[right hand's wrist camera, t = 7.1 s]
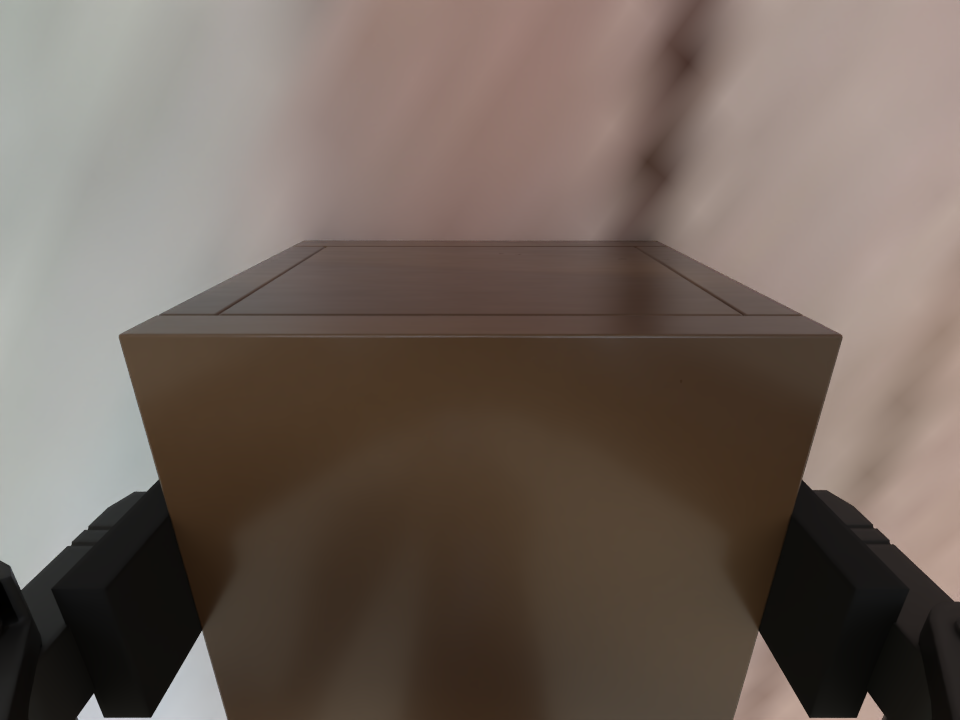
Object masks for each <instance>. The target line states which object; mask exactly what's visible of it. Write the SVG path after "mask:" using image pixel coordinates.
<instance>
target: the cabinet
mask: <svg viewBox="0 0 960 720" xmlns="http://www.w3.org/2000/svg"><path fill="white" fill-rule="evenodd" d="M119 340H120V343H121V347H122V350H123V354H124V357H125V361H126V364H127V368H128V371H129V375H130V378H131V382H132V385H133V389H134V392H135V396H136V399H137V403H138V407H139V410H140V414H141V417H142V421H143V424H144V428H145V431H146V435H147V438H148V442H149V445H150V449H151V452H152V456H153V459H154V463H155V466H156V470H157V473H158V477H159V480H160V484H161V487H162V491H163V494H164V498H165V502H166V505H167V509H168V512H169V516H170V519H171V523H172V526H173V530H174V533H175V537H176V540H177V544H178V547H179V551H180V554H181V558H182V561H183V565H184V568H185V572H186V575H187V579H188V582H189V586H190V589H191V593H192V597H193V600H194V604H195V607H196V611H197V614H198V618H199V621H200V625H201V628H202V632H203V635H204V639H205V642H206V646H207V649H208V653H209V656H210V660H211V663H212V667H213V670H214V674H215V677H216V681H217V684H218V688H219V692H220V695H221V699H222V702H223V706H224V709H225V713H226V716H227V720H733V718H734V715H735V711H736V708H737V704H738V701H739V698H740V694H741V691H742V687H743V684H744V680H745V677H746V673H747V670H748V666H749V663H750V659H751V656H752V652H753V649H754V645H755V642H756V638H757V635H758V631H759V627H760V624H761V620H762V617H763V613H764V610H765V606H766V603H767V599H768V596H769V592H770V589H771V585H772V582H773V578H774V575H775V571H776V568H777V564H778V561H779V557H780V554H781V550H782V547H783V543H784V540H785V536H786V533H787V529H788V526H789V522H790V519H791V515H792V512H793V509H794V505H795V502H796V498H797V495H798V491H799V488H800V484H801V481H802V477H803V474H804V470H805V467H806V463H807V460H808V457H809V453H810V450H811V446H812V443H813V439H814V436H815V432H816V429H817V425H818V422H819V418H820V415H821V411H822V408H823V404H824V401H825V397H826V394H827V390H828V387H829V383H830V380H831V376H832V373H833V369H834V366H835V362H836V359H837V355H838V352H839V348H840V345H841V341H842V335H841V334H839V333H837V332H835V331H833V330H831V329H829V328H827V327H825V326H823V325H821V324H820V323H818V322H816V321H814V320H812V319H810V318H808V317H806V316H803V315H802V314H800V313H798V312H796V311H794V310H792V309H790V308H788V307H786V306H784V305H782V304H780V303H778V302H776V301H774V300H772V299H770V298H768V297H766V296H765V295H763V294H761V293H759V292H757V291H755V290H753V289H751V288H749V287H747V286H745V285H743V284H741V283H739V282H737V281H735V280H733V279H731V278H729V277H727V276H725V275H723V274H721V273H719V272H717V271H715V270H714V269H712V268H710V267H708V266H706V265H704V264H702V263H700V262H698V261H696V260H694V259H692V258H690V257H688V256H686V255H684V254H682V253H680V252H678V251H676V250H674V249H672V248H670V247H668V246H666V245H664V244H662V243H660V242H658V241H302V242H300V243H299V244H297V245H295V246H293V247H291V248H289V249H287V250H285V251H283V252H281V253H279V254H277V255H275V256H273V257H271V258H269V259H267V260H265V261H263V262H261V263H259V264H257V265H255V266H253V267H251V268H249V269H248V270H246V271H244V272H242V273H240V274H238V275H236V276H234V277H232V278H230V279H228V280H226V281H224V282H222V283H220V284H218V285H216V286H214V287H212V288H210V289H208V290H206V291H204V292H203V293H201V294H199V295H197V296H195V297H193V298H191V299H189V300H187V301H185V302H183V303H181V304H179V305H177V306H175V307H173V308H171V309H169V310H167V311H165V312H163V313H161V314H159V316H155V317H153V318H151V319H149V320H147V321H145V322H143V323H141V324H139V325H137V326H135V327H133V328H131V329H129V330H127V331H125V332H123V333H121V334H120V335H119Z"/></svg>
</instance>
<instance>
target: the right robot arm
mask: <svg viewBox="0 0 960 720" xmlns="http://www.w3.org/2000/svg"><path fill="white" fill-rule="evenodd" d="M201 631H202V628H201V625H200V621H199V618H198V614H197V611H196V607H195V604H194V600H193V597H192V593H191V589H190V586H189V582H188V579H187V575H186V572H185V568H184V565H183V561H182V558H181V554H180V551H179V547H178V544H177V540H176V537H175V533H174V530H173V526H172V523H171V519H170V516H169V512H168V509H167V505H166V502H165V498H164V494H163V491H162V487H161V484H160V480H158V481H157V482H156V483H155V484H154V485H153V486H152V487H151V488H150V489H149V490H148V491H147V492H133V493H132V494H130V495H128V496H127V497H125V498H123V499H122V500H120V501H118V502H117V503H115V504H113V505H112V506H110V507H108V508H107V509H106V510H105V511H104V512H103V513H102V514H101V515H100V516H99V517H98V518H97V519H96V520H95V521H94V522H92V523H91V524H90V525H89V526H88V530H84V531H83V532H82V533H81V534H80V535H79V536H78V537H77V538H76V539H75V540H74V541H72V545H71V546H67V547H66V548H65V549H64V550H63V551H62V552H61V553H60V554H59V555H58V556H57V557H56V558H55V559H54V560H53V561H51V562H50V563H49V564H48V565H47V566H46V567H45V568H44V569H43V570H42V571H41V572H40V573H39V574H38V575H37V576H36V577H35V578H34V579H33V580H31V581H30V582H29V583H28V584H27V585H26V586H25V587H24V588H23V589H22V590H20V587H19V585H18V583H17V581H16V578H15V576H14V574H13V571H12V569H11V567H10V566H9V565H7V564H6V563H4V562H2V561H0V720H78V718H77V716H78V715H79V713H80V712H81V710H82V709H83V708H84V706H85V705H86V703H87V702H88V701H89V699H90V698H91V696H92V695H93V694H95V697H96V699H97V702H98V704H99V707H100V709H101V711H102V714H103V716H104V718H151V717H152V715H153V713H154V712H155V710H156V708H157V707H158V705H159V703H160V701H161V700H162V698H163V696H164V695H165V693H166V691H167V689H168V688H169V686H170V684H171V683H172V681H173V679H174V677H175V676H176V674H177V672H178V671H179V669H180V667H181V665H182V664H183V662H184V660H185V659H186V657H187V655H188V653H189V652H190V650H191V648H192V647H193V645H194V643H195V641H196V640H197V638H198V636H199V635H200V633H201ZM759 632H760V634H761V635H762V637H763V639H764V640H765V642H766V644H767V646H768V647H769V649H770V651H771V652H772V654H773V656H774V658H775V659H776V661H777V663H778V664H779V666H780V668H781V670H782V671H783V673H784V675H785V676H786V678H787V680H788V682H789V683H790V685H791V687H792V688H793V690H794V692H795V694H796V695H797V697H798V699H799V700H800V702H801V704H802V706H803V707H804V709H805V711H806V712H807V714H808V716H809V718H857V716H858V713H859V711H860V708H861V706H862V704H863V701H864V699H865V696H866V694H867V692H868V693H869V694H870V695H871V697H872V698H873V700H874V701H875V702H876V704H877V705H878V707H879V708H880V709H881V711H882V712H883V714H884V716H883V718H882V720H960V602H954V601H953V600H952V599H951V598H950V597H949V596H948V595H947V594H946V593H945V592H944V591H943V590H942V589H940V588H939V587H938V586H937V585H936V584H935V583H934V582H933V581H932V580H931V579H930V578H929V577H928V576H927V575H926V574H925V573H924V572H922V571H921V570H920V569H919V568H918V567H917V566H916V565H915V564H914V563H913V562H912V561H911V560H910V559H909V558H908V557H907V556H906V555H905V554H903V553H902V552H901V551H900V550H899V549H898V548H897V547H896V546H895V545H894V544H890V540H889V539H888V538H887V537H885V536H884V535H883V534H882V533H881V532H880V531H879V530H878V529H874V528H873V524H872V523H871V522H870V521H869V520H867V519H866V518H865V517H864V516H863V515H862V514H861V513H860V512H859V511H858V510H857V509H856V508H855V507H854V506H852V505H851V504H849V503H847V502H846V501H844V500H842V499H840V498H839V497H837V496H835V495H834V494H832V493H830V492H829V491H827V490H812V489H811V488H810V487H809V486H808V485H807V484H806V483H805V482H804V481H803V480H802V481H801V484H800V488H799V491H798V495H797V498H796V502H795V505H794V509H793V512H792V515H791V519H790V522H789V526H788V529H787V533H786V536H785V540H784V543H783V547H782V550H781V554H780V557H779V561H778V564H777V568H776V571H775V575H774V578H773V582H772V585H771V589H770V592H769V596H768V599H767V603H766V606H765V610H764V613H763V617H762V620H761V624H760V627H759Z"/></svg>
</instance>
